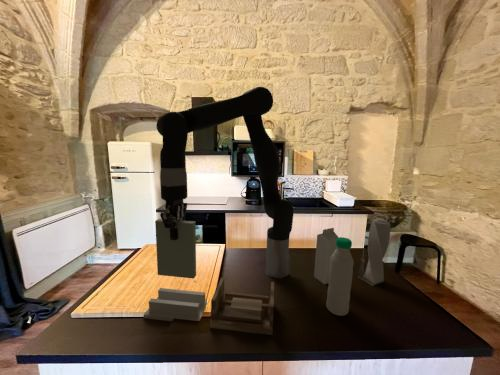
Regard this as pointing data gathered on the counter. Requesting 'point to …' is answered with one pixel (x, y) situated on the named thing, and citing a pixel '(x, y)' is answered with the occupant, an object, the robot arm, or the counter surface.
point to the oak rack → (217, 322)
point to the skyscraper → (376, 251)
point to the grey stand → (176, 305)
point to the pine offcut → (246, 308)
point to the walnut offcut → (236, 319)
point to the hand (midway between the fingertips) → (176, 237)
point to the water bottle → (340, 278)
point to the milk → (324, 254)
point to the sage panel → (176, 250)
